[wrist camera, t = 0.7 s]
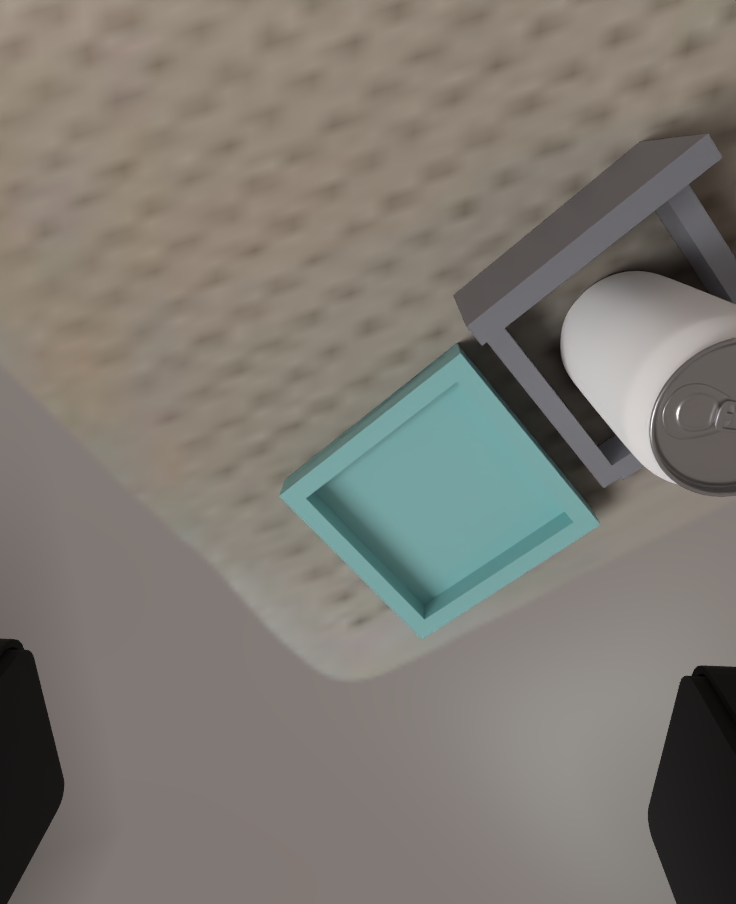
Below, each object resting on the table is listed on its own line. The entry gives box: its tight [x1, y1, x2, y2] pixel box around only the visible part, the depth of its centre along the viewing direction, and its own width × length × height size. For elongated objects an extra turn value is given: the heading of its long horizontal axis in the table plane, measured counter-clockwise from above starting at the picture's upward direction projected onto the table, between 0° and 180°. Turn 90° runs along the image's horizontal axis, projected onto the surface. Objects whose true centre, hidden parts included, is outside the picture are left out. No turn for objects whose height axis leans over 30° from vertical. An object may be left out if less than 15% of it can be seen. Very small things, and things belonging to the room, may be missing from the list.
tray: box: [279, 343, 600, 639], centre depth 35 cm, size 12×12×2 cm
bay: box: [453, 133, 736, 488], centre depth 29 cm, size 10×12×7 cm
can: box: [560, 271, 736, 497], centre depth 27 cm, size 6×6×12 cm
